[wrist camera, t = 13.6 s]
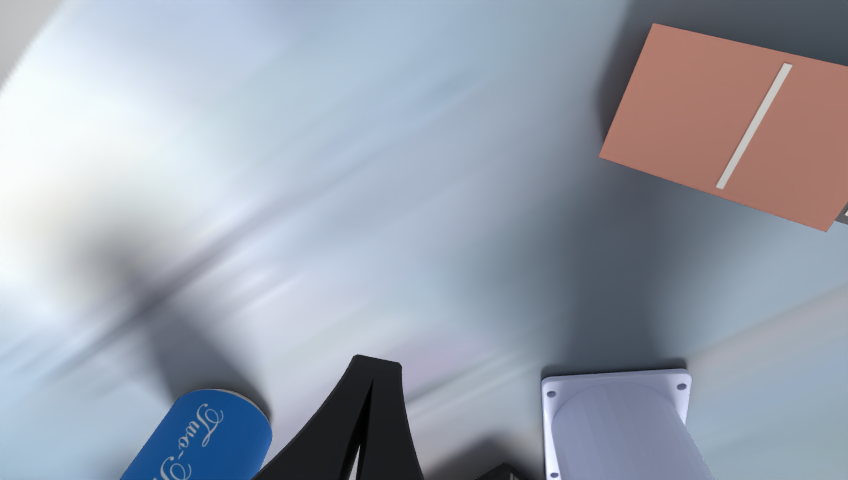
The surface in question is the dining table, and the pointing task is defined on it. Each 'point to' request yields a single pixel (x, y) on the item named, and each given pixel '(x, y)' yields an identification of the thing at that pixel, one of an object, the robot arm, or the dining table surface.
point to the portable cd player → (501, 474)
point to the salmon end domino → (737, 124)
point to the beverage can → (205, 440)
